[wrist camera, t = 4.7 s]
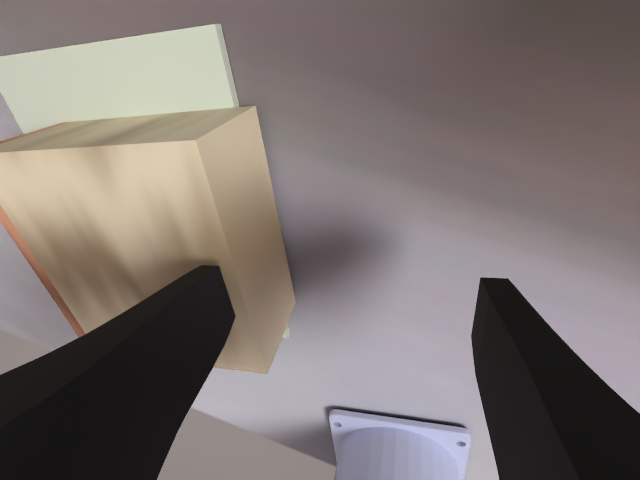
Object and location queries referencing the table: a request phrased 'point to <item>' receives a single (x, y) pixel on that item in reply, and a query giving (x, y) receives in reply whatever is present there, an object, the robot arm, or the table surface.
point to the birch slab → (152, 218)
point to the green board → (120, 79)
